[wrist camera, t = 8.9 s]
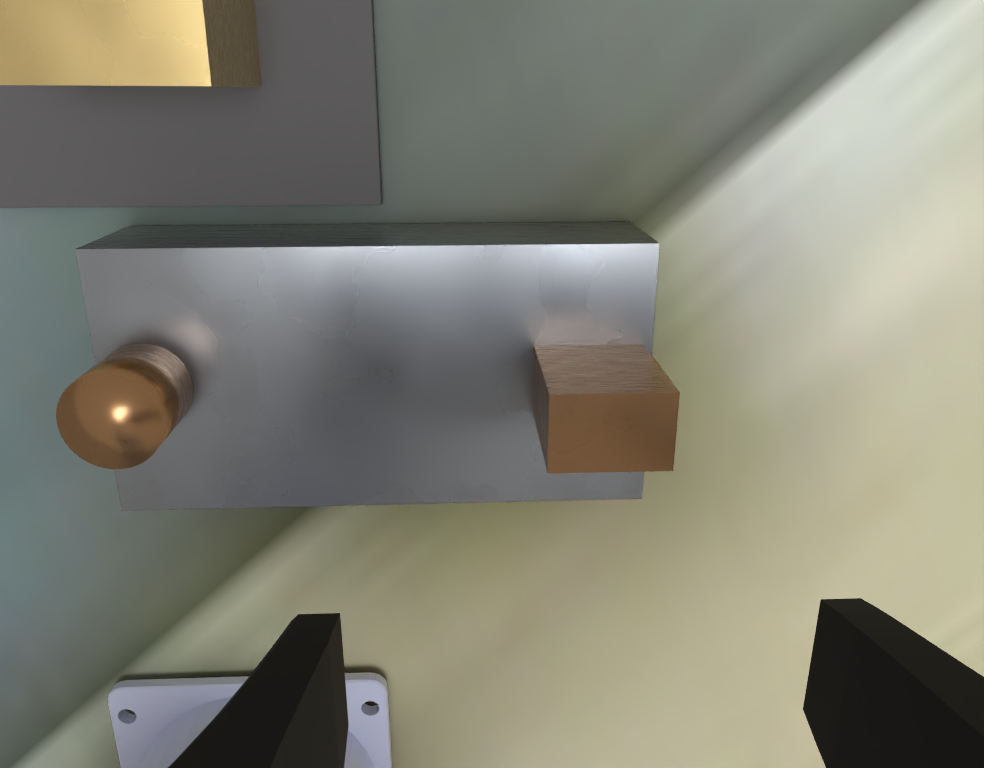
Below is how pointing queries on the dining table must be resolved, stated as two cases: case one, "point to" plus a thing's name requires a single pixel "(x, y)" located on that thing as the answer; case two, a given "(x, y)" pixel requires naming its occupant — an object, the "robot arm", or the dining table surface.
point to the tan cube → (129, 43)
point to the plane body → (371, 364)
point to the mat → (211, 127)
